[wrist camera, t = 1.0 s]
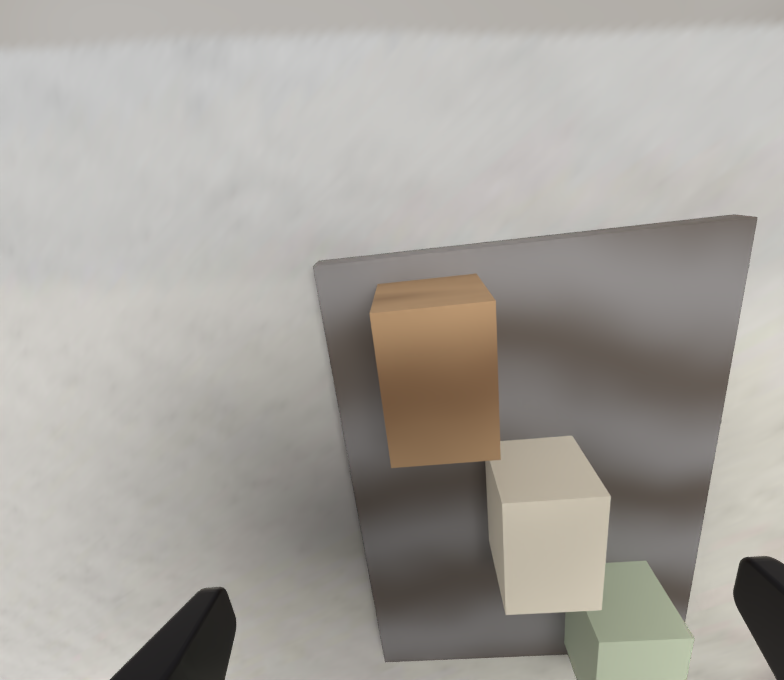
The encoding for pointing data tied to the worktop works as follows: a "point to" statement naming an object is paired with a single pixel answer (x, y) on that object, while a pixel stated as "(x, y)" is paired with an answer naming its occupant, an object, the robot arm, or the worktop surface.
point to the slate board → (547, 414)
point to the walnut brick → (437, 370)
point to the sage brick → (629, 630)
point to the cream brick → (547, 526)
